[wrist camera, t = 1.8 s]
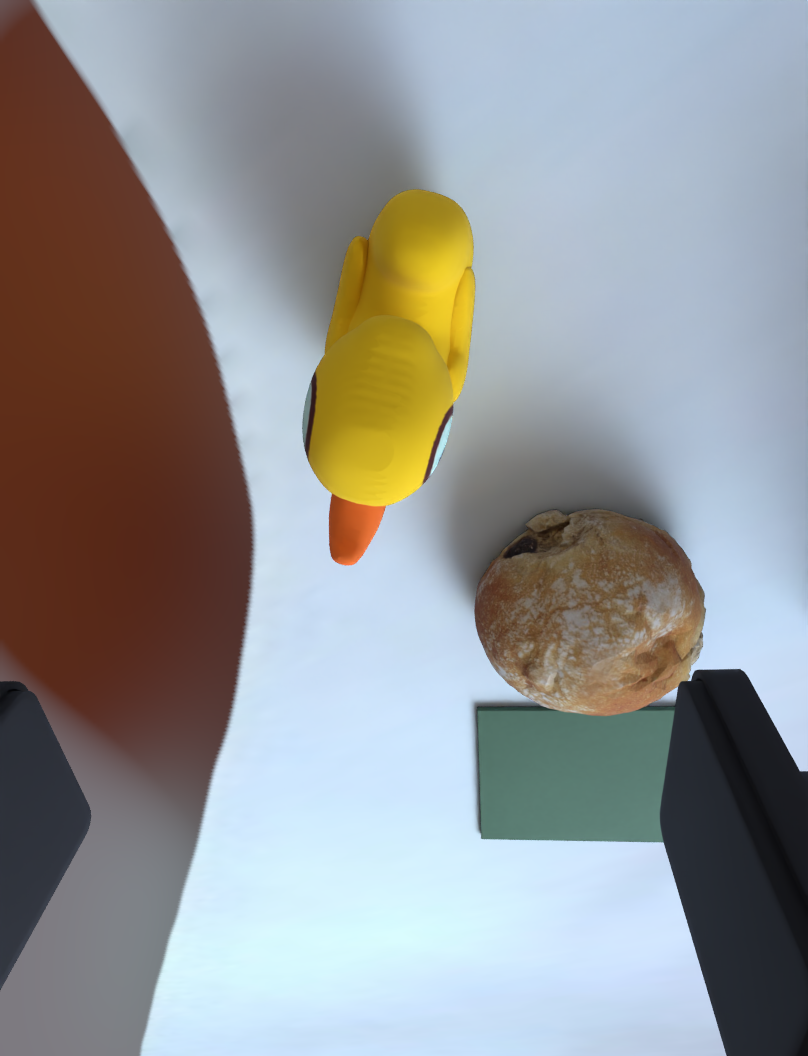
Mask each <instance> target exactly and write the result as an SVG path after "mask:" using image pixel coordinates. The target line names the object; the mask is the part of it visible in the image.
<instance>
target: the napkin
mask: <svg viewBox="0 0 808 1056" xmlns="http://www.w3.org/2000/svg"><path fill="white" fill-rule="evenodd" d="M674 712H675V707H643V708H641V709H638V710H636V711H632V712H628V713H622V714H616V715H611V716H593V715H586V714H580V713H571V712H563V711H559V710H555V709H550V708H546V707H477V719H478V750H479V780H480V811H481V839H508V840H564V841H621V842H664V841H663V838H662V833H661V828H660V805H661V799H662V792H663V785H664V779H665V772H666V765H667V759H668V752H669V745H670V739H671V732H672V725H673V719H674Z"/></svg>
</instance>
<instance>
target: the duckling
mask: <svg viewBox="0 0 808 1056" xmlns="http://www.w3.org/2000/svg"><path fill="white" fill-rule="evenodd" d="M473 248H474V246H473V235H472V230H471V226H470V223H469V220H468V218H467V216H466V214H465V212H464V211H463V209H462V208H461V207H460V206H459V205H458V204H457V203H456V202H455V201H453V200H452V199H450V198H448V197H446V196H443V195H440V194H437V193H434V192H430V191H426V190H420V189H413V190H407V191H403V192H401V193H399V194H397V195H396V196H394V197H393V198H392V199H391V200H390V201H389V202H388V203H387V204H386V205H385V207H384V208H383V209H382V211H381V212H380V214H379V215H378V217H377V219H376V221H375V223H374V225H373V227H372V230H371V233H370V236H369V239H368V240H367V239H366V238H364V237H362V236H356V237H355V238H354V239H353V240H352V241H351V243H350V245H349V247H348V249H347V252H346V256H345V259H344V263H343V268H342V272H341V277H340V282H339V287H338V292H337V296H336V301H335V305H334V309H333V314H332V318H331V321H330V325H329V329H328V333H327V338H326V345H325V355H324V357H323V358H322V360H321V361H320V363H319V365H318V366H317V368H316V370H315V373H314V375H313V377H312V380H311V383H310V386H309V389H308V393H307V396H306V401H305V406H304V413H303V427H302V429H303V442H304V447H305V452H306V455H307V458H308V461H309V463H310V466H311V468H312V470H313V471H314V473H315V475H316V476H317V478H318V479H319V481H320V482H321V483H322V485H323V486H324V487H325V488H326V489H327V490H328V491H330V492H331V493H332V497H331V503H330V511H329V546H330V553H331V557H332V558H333V560H334V561H335V562H337V563H339V564H342V565H353V564H355V563H356V562H357V561H358V560H359V559H360V558H361V557H362V555H363V554H364V552H365V550H366V549H367V547H368V545H369V544H370V542H371V540H372V538H373V537H374V535H375V533H376V531H377V529H378V527H379V525H380V522H381V519H382V517H383V514H384V511H385V507H386V506H387V505H391V504H394V503H396V502H398V501H400V500H402V499H404V498H406V497H408V496H409V495H411V494H412V493H414V492H415V491H416V490H417V489H418V488H420V487H421V486H422V485H423V484H424V483H425V482H426V480H427V479H428V478H429V477H430V475H431V474H432V473H433V471H434V470H435V468H436V466H437V464H438V463H439V461H440V458H441V456H442V454H443V451H444V449H445V446H446V443H447V439H448V436H449V432H450V427H451V422H452V416H453V402H455V401H456V400H457V398H458V397H459V395H460V393H461V390H462V388H463V385H464V381H465V377H466V372H467V366H468V359H469V349H470V341H471V331H472V321H473V311H474V301H475V277H474V273H473V270H472V269H471V267H472V261H473Z"/></svg>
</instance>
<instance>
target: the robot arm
mask: <svg viewBox="0 0 808 1056" xmlns="http://www.w3.org/2000/svg"><path fill="white" fill-rule="evenodd" d="M90 821H91V810H90V807H89V805H88V803H87V800H86V799H85V796H84V794H83V792H82V790H81V788H80V786H79V784H78V782H77V780H76V778H75V776H74V773H73V771H72V769H71V767H70V765H69V763H68V761H67V759H66V757H65V755H64V753H63V751H62V749H61V747H60V744H59V742H58V741H57V738H56V736H55V734H54V732H53V730H52V728H51V726H50V724H49V722H48V720H47V718H46V715H45V713H44V711H43V709H42V707H41V705H40V703H39V701H38V699H37V697H36V696H35V694H34V693H32V692H31V691H28V689H27V688H26V686H25V685H24V684H22V683H20V682H16V681H15V682H14V681H9V682H8V681H4V682H0V990H1V988H2V986H3V984H4V982H5V981H6V979H7V977H8V975H9V973H10V972H11V970H12V968H13V966H14V964H15V963H16V961H17V959H18V957H19V955H20V954H21V952H22V950H23V948H24V946H25V944H26V942H27V941H28V939H29V937H30V935H31V934H32V932H33V930H34V928H35V926H36V925H37V923H38V921H39V919H40V917H41V915H42V913H43V912H44V910H45V908H46V906H47V905H48V903H49V901H50V899H51V897H52V896H53V894H54V892H55V890H56V888H57V886H58V885H59V883H60V881H61V879H62V877H63V876H64V873H65V872H66V870H67V868H68V867H69V865H70V863H71V861H72V859H73V857H74V856H75V854H76V852H77V850H78V848H79V847H80V845H81V843H82V841H83V839H84V838H85V835H86V834H87V831H88V829H89V826H90ZM660 828H661V833H662V838H663V841H664V845H665V848H666V852H667V855H668V858H669V862H670V865H671V869H672V872H673V875H674V879H675V882H676V886H677V889H678V892H679V896H680V899H681V902H682V906H683V909H684V913H685V916H686V919H687V923H688V926H689V930H690V933H691V936H692V940H693V943H694V947H695V950H696V953H697V957H698V960H699V963H700V967H701V970H702V974H703V977H704V980H705V984H706V987H707V991H708V994H709V997H710V1001H711V1004H712V1008H713V1011H714V1014H715V1018H716V1021H717V1024H718V1028H719V1031H720V1035H721V1038H722V1041H723V1045H724V1048H725V1052H726V1055H727V1056H808V771H799V769H798V767H797V765H796V763H795V762H794V760H793V758H792V756H791V754H790V753H789V751H788V749H787V747H786V745H785V743H784V742H783V740H782V738H781V736H780V734H779V733H778V731H777V729H776V727H775V725H774V723H773V722H772V720H771V718H770V716H769V714H768V713H767V711H766V709H765V707H764V705H763V703H762V702H761V700H760V698H759V696H758V694H757V693H756V691H755V689H754V687H753V685H752V683H751V682H750V680H749V678H748V676H747V675H746V674H745V672H744V671H742V670H741V669H723V670H695V672H694V673H693V676H692V680H691V681H681V682H680V683H679V687H678V692H677V699H676V705H675V712H674V719H673V725H672V732H671V739H670V745H669V752H668V759H667V765H666V772H665V779H664V785H663V792H662V799H661V805H660Z"/></svg>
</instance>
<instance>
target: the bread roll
mask: <svg viewBox="0 0 808 1056" xmlns="http://www.w3.org/2000/svg"><path fill="white" fill-rule="evenodd" d="M525 525H526V526H527V528H528V529H527V530H526V532H524V533H523V534H521V535H519V536H518V537H517V538H516V539H515V540H514V541H512V542H511V543H510V544H509V545H508V546H507V547H506V548H505V549H504V550H503V551H502V552H501V554H500V555H499V557H497V558H496V559H494V560H493V561H492V562H491V563H490V566H489V567H488V569H487V570H486V572H485V573H484V575H483V576H482V578H481V580H480V582H479V584H478V587H477V593H476V599H475V610H474V612H475V622H476V628H477V632H478V636H479V638H480V641H481V643H482V645H483V648H484V650H485V652H486V655H487V657H488V659H489V660H490V662H491V664H492V666H493V667H494V668H495V670H496V671H497V673H498V674H499V675H500V676H501V677H502V678H503V679H504V680H505V681H506V682H507V683H508V684H509V685H510V686H512V687H514V688H515V689H516V690H517V691H518V692H520V693H521V694H522V695H524V696H526V697H528V698H530V699H531V700H533V701H534V702H536V703H538V704H540V705H541V706H543V707H546V708H550V709H555V710H559V711H563V712H571V713H580V714H586V715H593V716H611V715H616V714H622V713H628V712H632V711H636V710H638V709H641V708H643V707H646V706H647V705H649V704H650V703H652V702H655V701H657V700H659V699H661V698H662V697H663V696H664V695H665V694H667V693H668V692H670V691H672V690H673V689H675V688H676V687H678V686H679V683H680V682H681V681H688V679H689V678H690V675H689V672H690V670H691V665H693V664H694V663H695V662H696V661H697V659H698V658H699V653H700V651H701V649H702V647H703V634H702V632H701V631H702V628H703V625H704V619H705V612H706V609H705V607H704V597H705V595H704V591H703V589H702V587H701V586H700V584H699V582H698V580H697V579H696V578H695V575H694V573H693V571H692V569H691V561H690V559H688V557H687V555H686V554H685V552H684V551H683V549H682V548H681V547H680V546H679V545H678V543H677V542H676V541H675V540H674V539H673V538H672V537H671V536H670V535H669V534H668V533H667V532H666V531H665V530H661V529H659V528H657V527H655V526H654V525H651V524H649V523H646V522H644V521H643V520H642V519H635V518H631V517H627V516H625V515H622V514H619V513H616V512H613V511H608V510H601V509H589V510H581V511H577V512H574V513H571V514H569V515H564V514H563V513H562V512H560V511H558V510H555V509H554V510H550V511H547V512H544V513H541V514H538V515H536V516H535V517H533V518H532V519H531V520H530V521H529V522H527V523H526V524H525Z"/></svg>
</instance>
